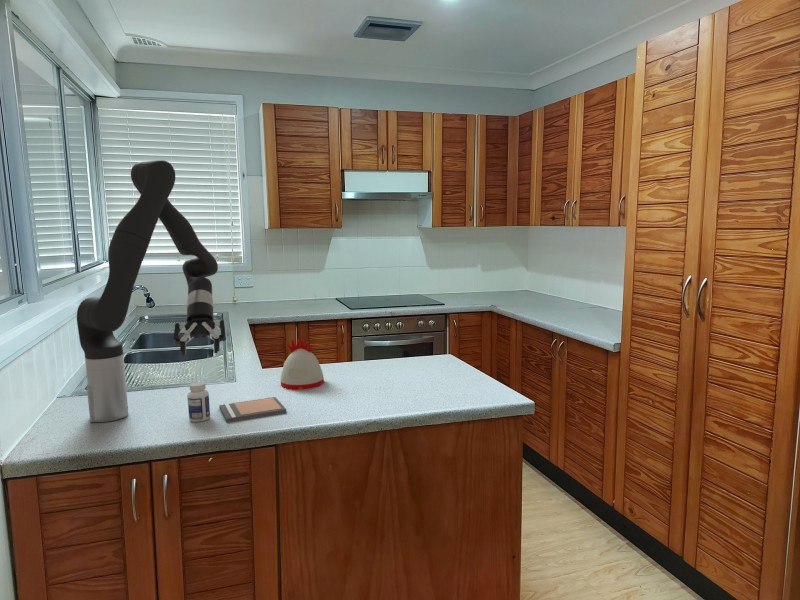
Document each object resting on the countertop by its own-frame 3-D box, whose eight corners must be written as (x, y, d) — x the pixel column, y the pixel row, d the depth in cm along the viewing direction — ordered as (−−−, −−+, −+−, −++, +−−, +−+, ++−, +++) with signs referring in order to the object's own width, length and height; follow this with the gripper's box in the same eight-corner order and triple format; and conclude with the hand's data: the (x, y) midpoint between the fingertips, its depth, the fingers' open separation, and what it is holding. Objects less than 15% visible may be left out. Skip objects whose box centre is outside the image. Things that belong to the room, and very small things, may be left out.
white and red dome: (286, 378, 190) (284, 335, 188) (326, 378, 189) (325, 334, 187) (276, 390, 176) (273, 343, 174) (319, 389, 176) (317, 343, 174)
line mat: (226, 422, 147) (226, 418, 147) (219, 408, 159) (219, 404, 158) (286, 412, 154) (286, 408, 154) (275, 400, 165) (275, 396, 165)
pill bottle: (203, 414, 154) (201, 380, 153) (214, 418, 151) (211, 383, 149) (185, 419, 150) (182, 384, 149) (196, 423, 147) (193, 387, 145)
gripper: (173, 302, 164) (171, 348, 155) (223, 299, 168) (225, 344, 158) (176, 317, 170) (175, 362, 161) (225, 313, 174) (227, 358, 164)
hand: (200, 353), depth 160 cm, fingers open, 8 cm apart
